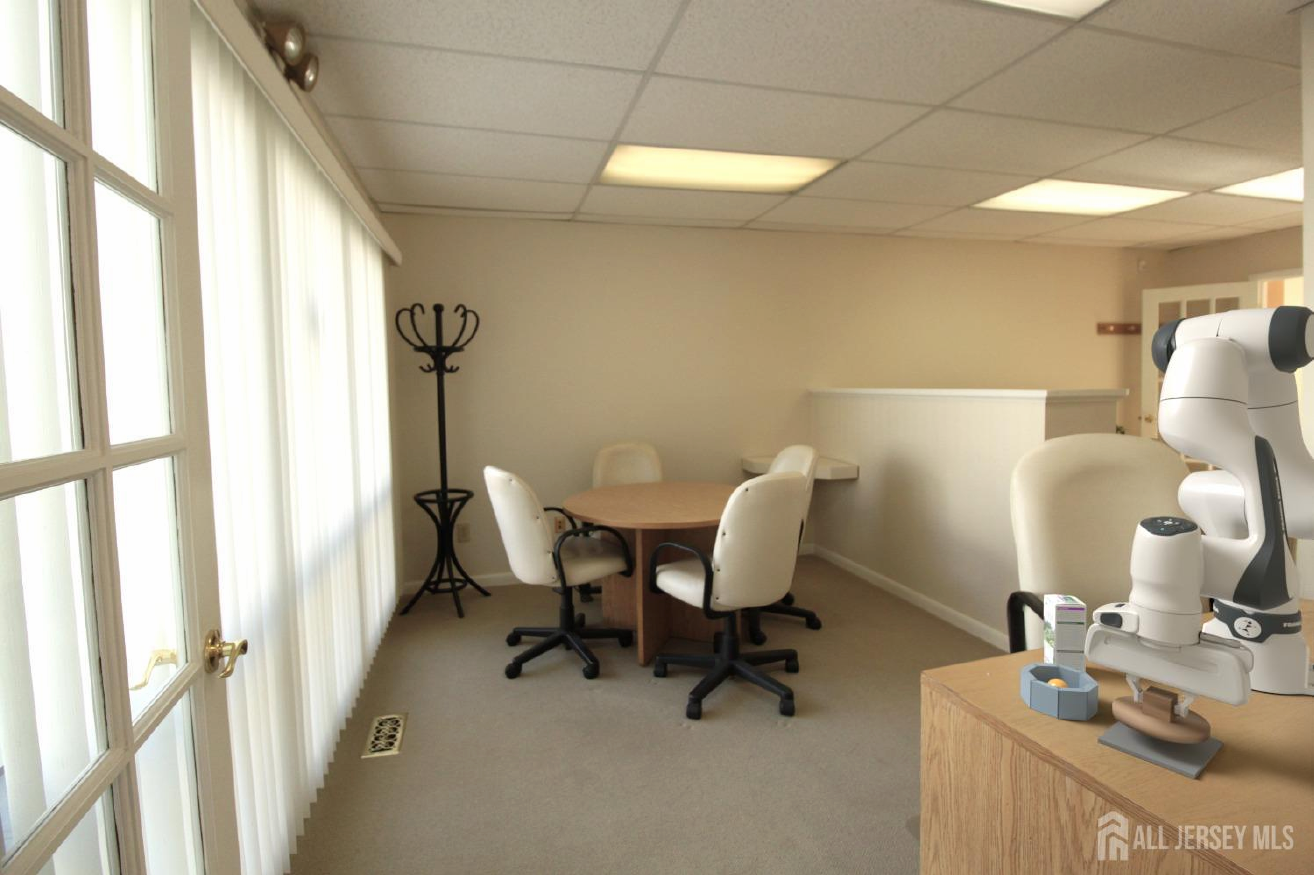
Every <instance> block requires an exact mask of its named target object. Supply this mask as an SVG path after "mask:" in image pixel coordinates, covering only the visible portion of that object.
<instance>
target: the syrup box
mask: <svg viewBox="0 0 1314 875" xmlns="http://www.w3.org/2000/svg"><path fill="white" fill-rule="evenodd" d="M1043 600H1044V601H1043V662H1042V663H1051V664H1060V665H1064V666H1067V667H1070V668H1073V669H1076V670H1080V671H1083V672H1085V673H1087V672H1086V671H1087V657H1086V656H1085V642H1086V636H1087V606H1088V605H1087V604H1086V603H1084V602H1083V601H1081V600H1080V599H1079V598H1077V597H1076V596H1075V595H1072V594H1060V593H1059V594H1056V593H1054V594H1044V597H1043Z"/></svg>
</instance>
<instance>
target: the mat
mask: <svg viewBox="0 0 1314 875" xmlns="http://www.w3.org/2000/svg"><path fill="white" fill-rule="evenodd" d="M1097 743H1100V744H1103V745H1105V746H1107V747H1111V748H1112V749H1115V750H1117V751H1120V752H1122V753H1126V754H1128V755H1131V756H1133V757H1135V758H1139V759H1141V760H1144V761H1147V762H1149V763H1151V764H1154V765H1156V764H1158V765H1157V766H1159V767H1161V768H1164V767H1165V768H1164V769H1167V770H1170V771H1172V772H1175V771H1176V773H1177V772H1179V773H1178V774H1180V773H1181V774H1180V775H1182V774H1183V776H1185V777H1188V778H1190V779H1193V780H1195V779H1196V778H1197V777H1198V776H1199V775H1200V773H1202V771H1203V769H1204V768H1205V767H1206V766H1207V763H1208V764H1209V762H1210V761H1211V760H1212V759H1213V758H1212V757H1215V755H1216V754H1217V753H1218V752H1219V750H1220V749H1221V748H1222V747H1223V746H1224V740H1221V739H1218V738H1215V737H1213V736H1212V737H1211V736H1210V738H1209V739H1208V740H1207V741H1205V742H1202V743H1194V744H1187V743H1176V742H1170V741H1165V740H1161V739H1157V738H1154V737H1151V736H1148V735H1145V734H1142V733H1140V732H1137V731H1135V730H1133V729H1131V728H1129V727H1127V726H1125V725H1124V724H1122V723H1121V722H1120V721H1118V720H1117V722H1115V723H1114V724H1113V725H1112V726H1111V727H1109V728H1108V729H1107V730H1106V731H1104V732H1103V733H1102V734H1101V735H1100V736H1099V737H1098V738H1097Z"/></svg>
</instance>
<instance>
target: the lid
mask: <svg viewBox="0 0 1314 875" xmlns="http://www.w3.org/2000/svg"><path fill="white" fill-rule="evenodd" d="M1176 701H1179V693H1176V692H1173V691H1170V690H1166V689H1165V688H1164V689H1163V688H1160V687H1157V686H1154V685H1150V686H1149V687H1148V688H1146V689H1145V690H1144V692H1143V704H1140V703H1136V702H1134V695H1125V696H1119V697H1117V698H1115V699H1114V700H1113V701H1112V707H1111V713H1112V715H1113V716H1114V718H1115V719H1116V720H1117V722H1118V721H1120V722H1121V723H1122V724H1124V725H1125V726H1127V727H1129V728H1131V729H1133V730H1135V731H1137V732H1140V733H1142V734H1145V735H1148V736H1151V737H1154V738H1157V739H1161V740H1165V741H1170V742H1176V743H1187V744H1194V743H1202V742H1205V741H1207V740H1208V739H1209V738H1210V737H1211V733H1212V732H1211V730H1212V728H1211V724H1210V722H1209V721H1208V720H1207V719H1206V718H1204V716H1202V715H1201V714H1199V713H1197V712H1196V711H1194V710H1191V709H1189V708H1188V715H1187V717H1186V718H1182V717H1179V716H1176V715H1173V714H1172V711H1173V704H1174V703H1175V702H1176Z"/></svg>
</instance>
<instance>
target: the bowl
mask: <svg viewBox="0 0 1314 875" xmlns="http://www.w3.org/2000/svg"><path fill="white" fill-rule="evenodd" d="M1019 684H1020V685H1019V686H1020V689H1019V690H1020V691H1019V692H1020V693H1019V694H1020V695H1019V696H1020V698H1021V699H1022V701H1024V702H1025V704H1026V705H1027V706H1028V708H1030V709H1032V710H1034V711H1036V712H1038V713H1042V714H1045V715H1047V716H1049V717H1052V718H1055V719H1059V720H1072V721H1089V720H1090V719H1091V718H1092V717H1094V716H1095V715H1096V714H1097V713H1099V710H1098V709H1099V686H1100V685H1099V683H1098V682H1097V681H1096V680H1095V679H1094V678H1093V677H1092V676H1090V675H1089V674H1088V673H1087V672H1086V673H1085V672H1083V671H1080V670H1076V669H1073V668H1070V667H1067V666H1064V665H1060V664H1051V663H1043V662H1031V663H1029V664H1028V665H1025V666H1024V667H1022V668H1020V683H1019ZM1094 714H1095V715H1094ZM1093 715H1094V716H1093Z"/></svg>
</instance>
